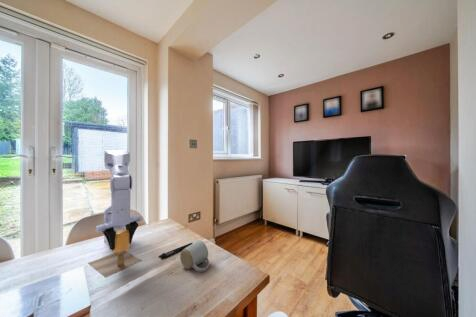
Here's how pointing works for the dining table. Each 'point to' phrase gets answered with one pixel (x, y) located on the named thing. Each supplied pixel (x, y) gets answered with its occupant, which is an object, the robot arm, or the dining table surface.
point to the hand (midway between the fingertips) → (120, 246)
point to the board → (114, 263)
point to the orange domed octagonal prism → (122, 241)
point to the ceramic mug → (195, 256)
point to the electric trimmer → (173, 252)
